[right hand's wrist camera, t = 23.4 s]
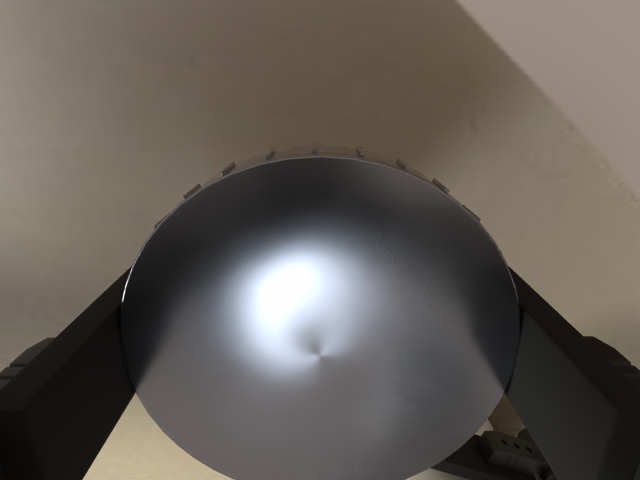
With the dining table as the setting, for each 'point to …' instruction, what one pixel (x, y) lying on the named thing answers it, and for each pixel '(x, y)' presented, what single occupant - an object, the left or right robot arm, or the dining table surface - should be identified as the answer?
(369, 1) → the dining table surface
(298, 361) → the lid
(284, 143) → the dining table surface
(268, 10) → the dining table surface
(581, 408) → the right robot arm
